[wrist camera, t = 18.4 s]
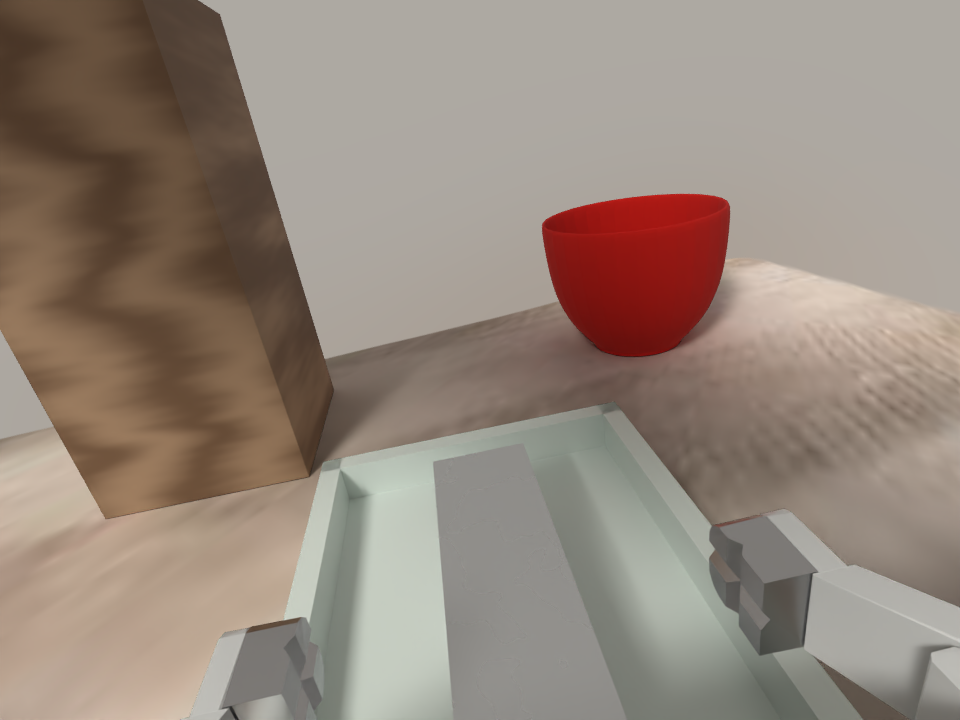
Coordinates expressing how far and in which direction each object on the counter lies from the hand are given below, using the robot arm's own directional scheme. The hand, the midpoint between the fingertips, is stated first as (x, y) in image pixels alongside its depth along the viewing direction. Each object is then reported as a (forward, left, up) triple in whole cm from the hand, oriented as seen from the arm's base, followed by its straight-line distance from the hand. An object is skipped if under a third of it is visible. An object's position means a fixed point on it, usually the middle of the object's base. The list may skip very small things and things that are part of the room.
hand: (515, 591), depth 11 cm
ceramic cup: (+14, +32, -9) cm, 36 cm away
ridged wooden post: (-16, +26, -9) cm, 32 cm away
